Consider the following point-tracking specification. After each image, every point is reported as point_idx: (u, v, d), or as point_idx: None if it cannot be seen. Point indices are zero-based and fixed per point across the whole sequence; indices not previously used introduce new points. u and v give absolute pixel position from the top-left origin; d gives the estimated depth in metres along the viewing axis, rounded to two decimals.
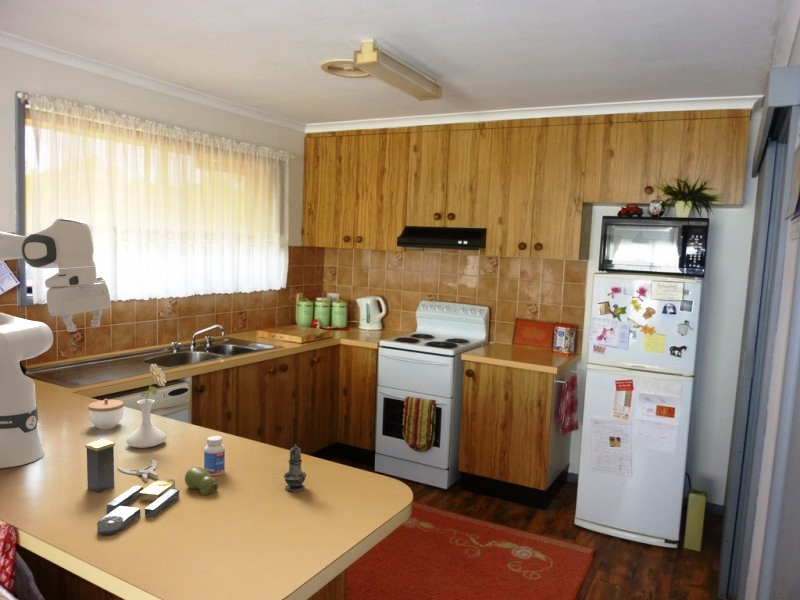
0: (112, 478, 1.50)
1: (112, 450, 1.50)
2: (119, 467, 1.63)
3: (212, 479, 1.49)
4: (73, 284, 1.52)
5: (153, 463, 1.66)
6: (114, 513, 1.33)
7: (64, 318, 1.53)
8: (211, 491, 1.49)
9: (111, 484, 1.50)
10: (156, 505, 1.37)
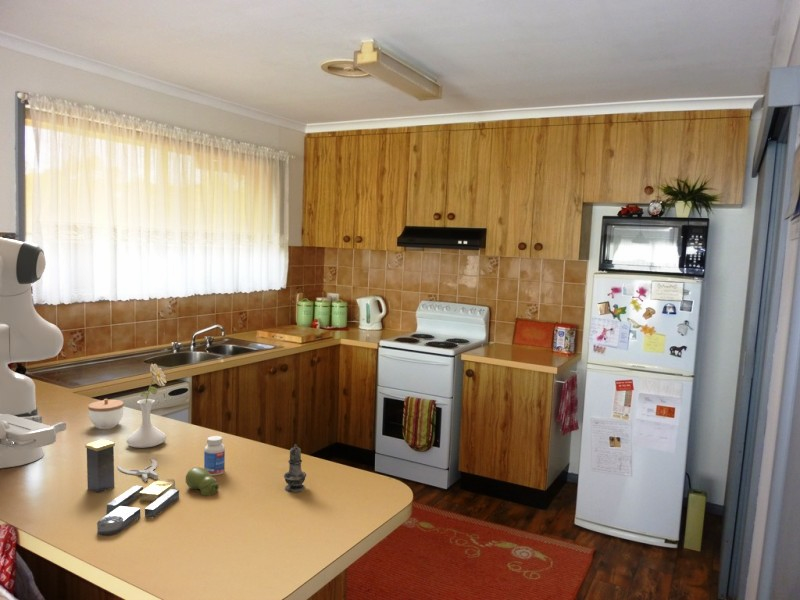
0: (112, 478, 1.50)
1: (112, 450, 1.50)
2: (119, 467, 1.63)
3: (213, 479, 1.49)
4: None
5: (153, 463, 1.66)
6: (114, 513, 1.33)
7: None
8: (212, 491, 1.48)
9: (111, 484, 1.50)
10: (156, 505, 1.37)
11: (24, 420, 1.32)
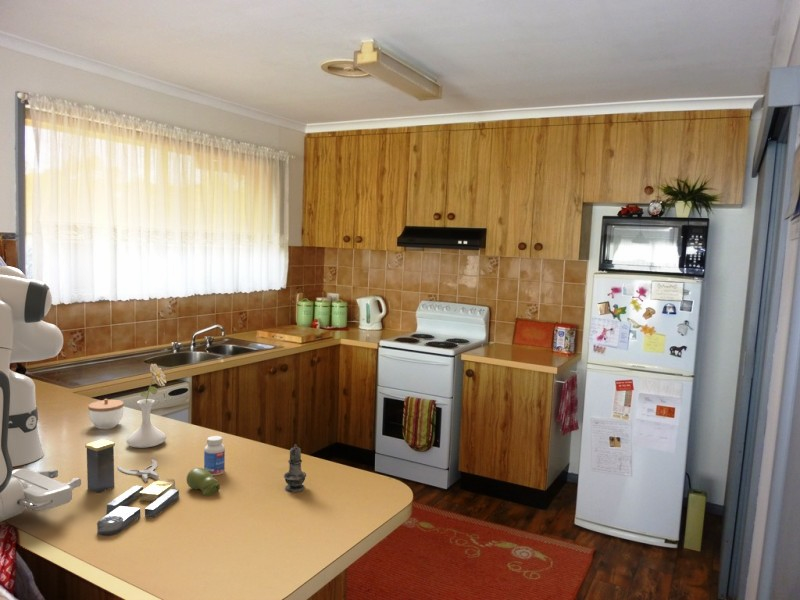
0: (112, 478, 1.50)
1: (112, 450, 1.50)
2: (119, 467, 1.63)
3: (214, 480, 1.49)
4: None
5: (153, 463, 1.66)
6: (114, 513, 1.33)
7: None
8: (213, 492, 1.48)
9: (111, 484, 1.50)
10: (156, 505, 1.37)
11: (41, 477, 1.37)
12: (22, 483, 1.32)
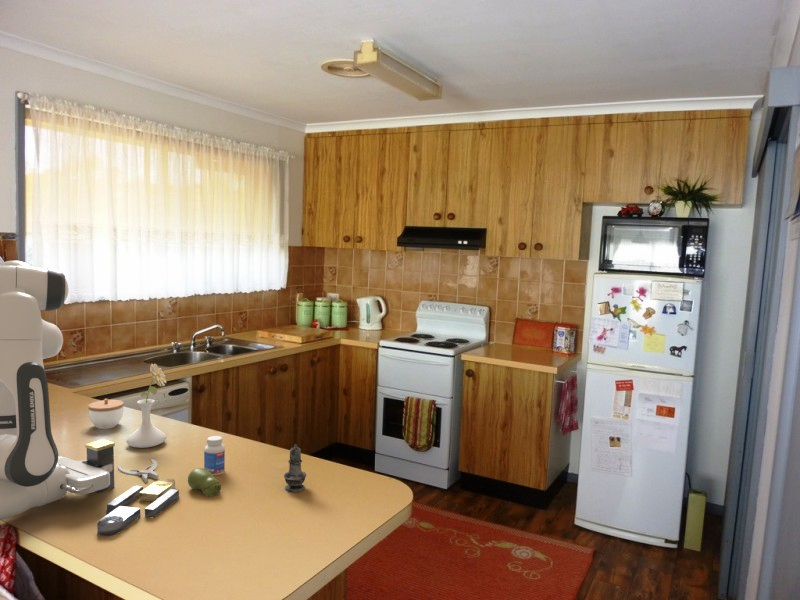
0: (112, 478, 1.50)
1: (112, 450, 1.50)
2: (119, 467, 1.63)
3: (215, 480, 1.49)
4: None
5: (153, 463, 1.66)
6: (114, 513, 1.33)
7: None
8: (214, 492, 1.48)
9: (111, 484, 1.50)
10: (156, 505, 1.37)
11: (80, 464, 1.45)
12: (64, 469, 1.40)
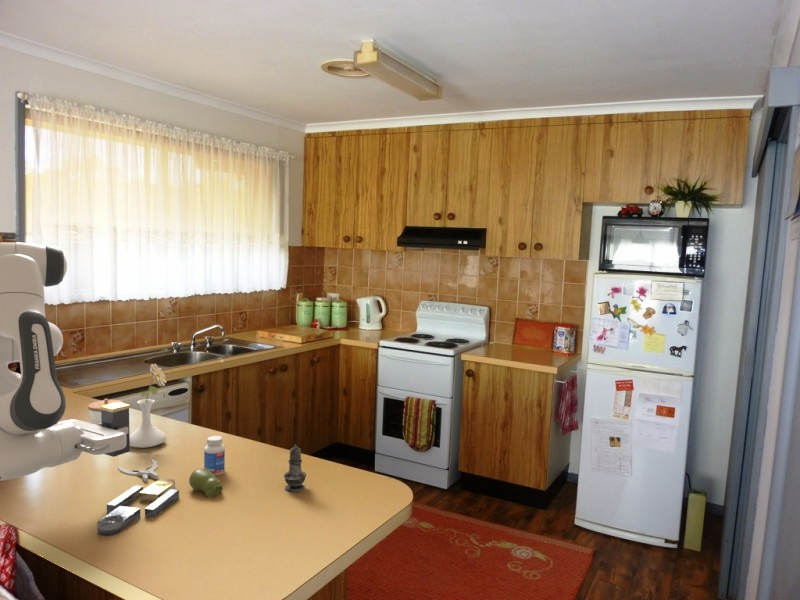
0: (128, 442, 1.44)
1: (127, 412, 1.44)
2: (119, 467, 1.63)
3: (217, 481, 1.48)
4: None
5: (153, 463, 1.66)
6: (114, 513, 1.33)
7: None
8: (216, 493, 1.48)
9: (127, 448, 1.44)
10: (156, 505, 1.37)
11: (94, 426, 1.39)
12: (78, 429, 1.34)
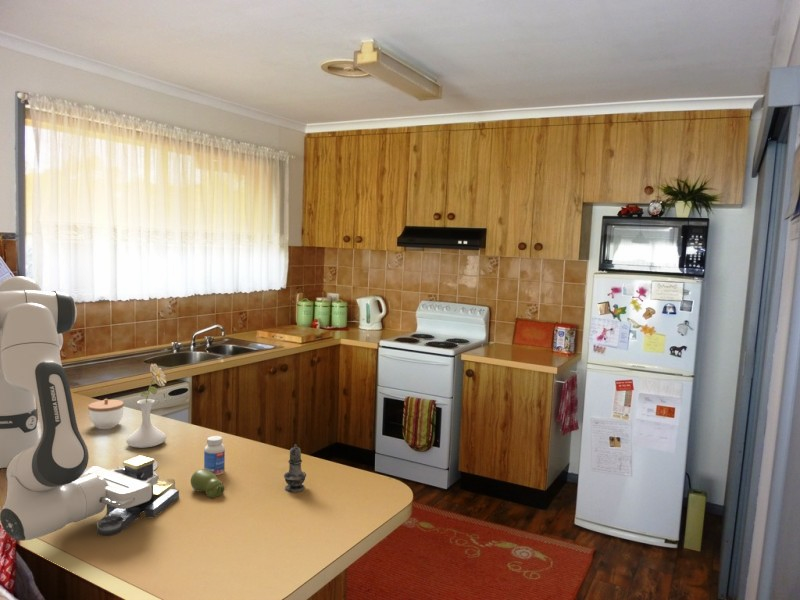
0: (152, 497, 1.40)
1: (151, 467, 1.39)
2: (119, 468, 1.62)
3: (219, 481, 1.48)
4: None
5: (154, 464, 1.66)
6: (114, 513, 1.33)
7: None
8: (218, 493, 1.47)
9: None
10: (156, 505, 1.37)
11: (118, 475, 1.34)
12: (102, 481, 1.29)
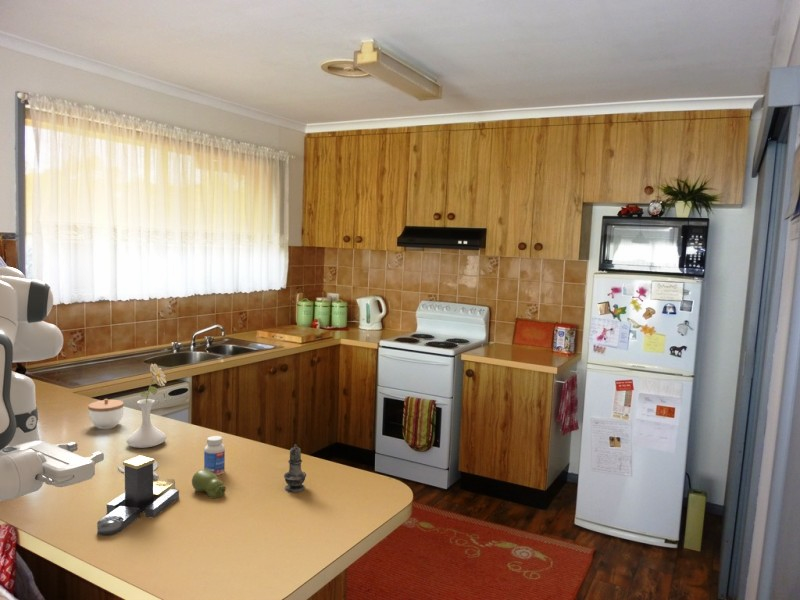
0: (152, 497, 1.40)
1: (151, 467, 1.39)
2: (120, 468, 1.62)
3: (220, 482, 1.48)
4: None
5: (154, 464, 1.66)
6: (114, 513, 1.33)
7: None
8: (219, 494, 1.47)
9: None
10: (156, 505, 1.37)
11: (60, 451, 1.25)
12: (40, 456, 1.19)
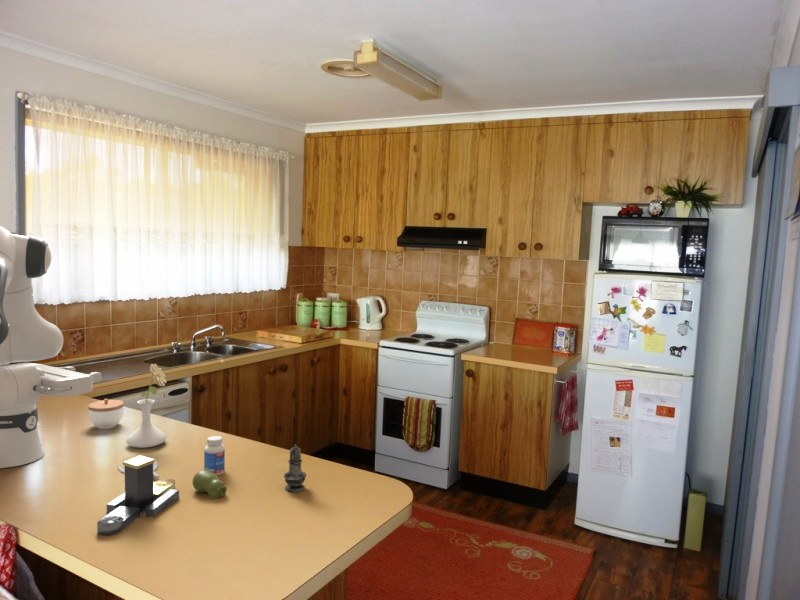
0: (152, 497, 1.40)
1: (151, 467, 1.39)
2: (120, 468, 1.62)
3: (221, 482, 1.48)
4: None
5: (154, 464, 1.66)
6: (114, 513, 1.33)
7: None
8: (220, 494, 1.47)
9: None
10: (156, 505, 1.37)
11: (58, 369, 1.25)
12: (38, 370, 1.20)
